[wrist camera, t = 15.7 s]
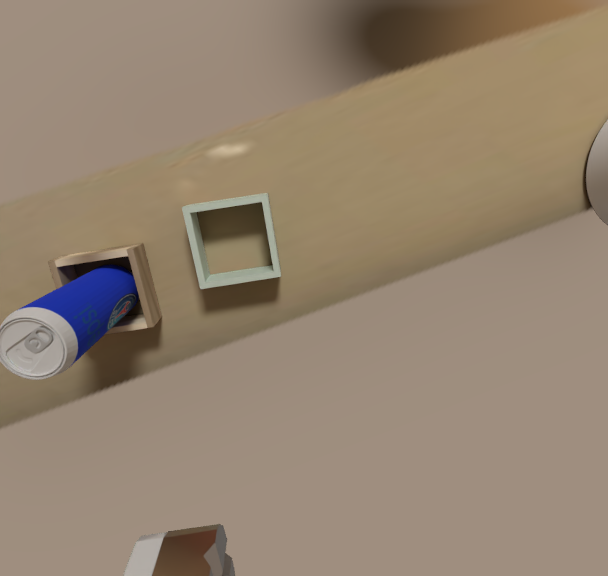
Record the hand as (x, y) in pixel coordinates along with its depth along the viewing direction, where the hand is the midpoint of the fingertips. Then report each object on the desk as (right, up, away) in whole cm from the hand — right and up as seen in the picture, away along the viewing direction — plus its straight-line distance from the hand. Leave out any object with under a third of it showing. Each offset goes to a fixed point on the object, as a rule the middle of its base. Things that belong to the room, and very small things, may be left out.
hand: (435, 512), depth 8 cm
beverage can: (-22, +4, +34) cm, 40 cm away
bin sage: (-9, +9, +33) cm, 36 cm away
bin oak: (-22, +4, +34) cm, 40 cm away
